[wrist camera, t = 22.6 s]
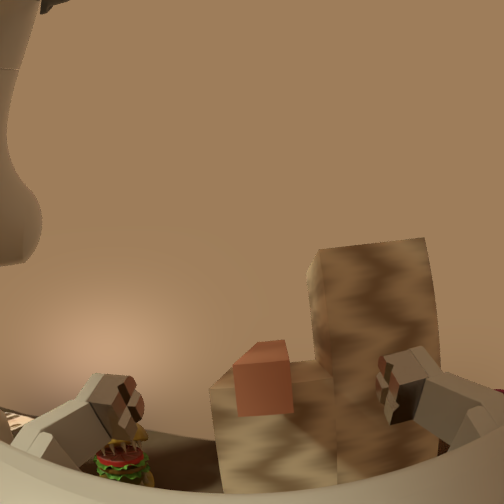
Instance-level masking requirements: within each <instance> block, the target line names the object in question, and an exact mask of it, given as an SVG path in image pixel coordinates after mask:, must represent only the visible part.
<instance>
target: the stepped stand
mask: <svg viewBox="0 0 504 504" xmlns="http://www.w3.org/2000/svg"><path fill="white" fill-rule="evenodd" d="M306 277H307V285H308V294H309V302H310V312H311V321H312V330H313V341H314V352H315V360H309V361H301V362H292V363H290V372H291V383H292V395H293V407H294V413H287V414H277V415H264V416H248V417H238V412H237V403H236V394H235V385H234V375H233V368H230V369H229V370H228V371H227V372H226V373H225V374H224V375H223V376H222V377H221V378H220V379H219V380H218V381H217V382H216V383H215V384H214V385H212V386H211V387H210V388H209V394H210V402H211V411H212V419H213V426H214V434H215V441H216V448H217V455H218V461H219V468H220V474H221V480H222V486H223V492H224V494H253V493H274V492H286V491H296V490H305V489H313V488H320V487H326V486H332V485H338V484H343V483H348V482H353V481H357V480H362V479H366V478H370V477H374V476H378V475H382V474H386V473H389V472H393V471H396V470H399V469H403V468H406V467H409V466H412V465H415V464H418V463H421V462H424V461H426V460H429V459H432V458H434V457H437V455H438V445H439V438H438V437H437V436H435V435H434V434H432V433H431V432H429V431H428V430H426V429H425V428H423V427H422V426H420V425H419V424H417V423H416V422H415V421H413V420H414V419H413V420H409V421H406V422H402V423H398V424H394V425H389V423H388V421H387V418H386V416H385V414H384V407H385V405H383V404H382V403H380V402H379V400H378V397H377V394H376V386H375V383H376V376H377V375H378V373H379V372H380V370H379V368H378V360H379V357H380V356H382V355H387V354H391V353H395V352H400V351H404V350H408V349H410V348H414V347H418V346H423V347H424V348H425V349H426V351H427V352H428V353H429V355H430V356H431V357H432V358H433V360H434V361H435V362H436V364H437V365H438V366H439V368H440V369H441V364H440V344H439V331H438V321H437V311H436V303H435V295H434V288H433V281H432V275H431V269H430V263H429V258H428V252H427V247H426V243H425V238H415V239H406V240H398V241H390V242H380V243H372V244H363V245H354V246H346V247H337V248H328V249H319V250H318V252H317V254H316V256H315V258H314V260H313V261H312V263H311V265H310V267H309V269H308V270H307V272H306Z"/></svg>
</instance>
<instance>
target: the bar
mask: <svg viewBox="0 0 504 504" xmlns="http://www.w3.org/2000/svg"><path fill="white" fill-rule="evenodd" d="M233 375H234V385H235V394H236V403H237V412H238V417H248V416H264V415H277V414H287V413H294V407H293V395H292V383H291V372H290V361H289V356H288V352H287V348H286V344H285V340H276V341H267V342H257V343H256V344H255V345H254V346H253V347H252V348H251V349H250V350H249V351H248V352H246V353H245V354H244V355H243V356H242V357H241V358H240V359H239V360H237V361H236V362H235V363H234V364H233Z"/></svg>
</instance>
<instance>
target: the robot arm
mask: <svg viewBox="0 0 504 504" xmlns="http://www.w3.org/2000/svg"><path fill="white" fill-rule="evenodd" d="M67 1H69V0H42V2H41V11H40V14H45V13H47V12H48V11H49V10H50V9H51V8H52V7H53V5H57V4H60V3H64V2H67ZM39 2H40V0H0V266H8V265H14V264H19V263H25V262H26V261H27V260H28V259H29V257H30V256H31V255H32V254H33V252H34V251H35V249H36V247H37V244H38V242H39V239H40V235H41V230H42V215H41V209H40V206H39V203H38V201H37V199H36V197H35V195H34V194H33V192H32V191H31V190H30V189H29V188H28V187H27V186H26V185H25V184H24V183H23V182H22V180H21V179H20V177H19V176H18V174H17V173H16V171H15V169H14V167H13V164H12V162H11V159H10V156H9V152H8V146H7V137H6V132H7V121H8V113H9V108H10V103H11V98H12V94H13V89H14V86H15V82H16V79H17V75H18V72H19V70H13V69H20V66H21V63H22V60H23V57H24V54H25V50H26V47H27V44H28V41H29V37H30V34H31V31H32V28H33V24H34V21H35V17H36V14H37V10H38V6H39ZM4 68H9V69H4ZM378 368H379V370H380V372H379V373H378V375H377V376H376V383H375V386H376V394H377V397H378V400H379V402H380V403H382V404H383V405H385V407H384V414H385V416H386V418H387V421H388V423H389V425H394V424H398V423H402V422H406V421H409V420H413V419H414V420H413V421H415V422H416V423H417V424H419V425H420V426H422V427H423V428H425V429H426V430H428V431H429V432H431V433H432V434H434V435H435V436H437V437H438V438H440V439H441V440H443V441H444V442H446V443H447V444H449V445H450V447H449V449H448V451H447V453H445V454H442V455H440V456H437V457H434V458H432V459H429V460H426V461H424V462H421V463H418V464H415V465H412V466H409V467H406V468H403V469H399V470H396V471H393V472H389V473H386V474H382V475H378V476H374V477H370V478H366V479H362V480H357V481H353V482H348V483H343V484H338V485H332V486H326V487H320V488H313V489H305V490H296V491H286V492H274V493H253V494H219V493H198V492H185V491H175V490H167V489H159V488H152V487H146V486H140V485H134V484H129V483H124V482H119V481H115V480H110V479H106V478H102V477H98V476H94V475H91V474H87V473H83V472H82V471H81V470H80V469H79V467H80V466H81V465H83V464H84V463H85V462H86V461H87V460H89V459H90V458H91V457H92V456H93V455H95V454H96V453H97V452H98V451H99V450H101V449H102V448H103V447H104V446H105V445H107V444H108V443H109V442H110V441H111V439H115V440H123V441H133V439H134V436H135V434H136V432H137V429H138V427H137V425H136V423H137V422H138V421H140V420H141V419H142V417H143V414H144V401H143V398H142V396H141V394H140V393H139V392H137V391H136V390H135V388H136V382H135V380H134V378H133V377H131V376H123V375H111V374H99V373H95V374H92V376H91V377H90V378H89V380H88V381H87V383H86V384H85V386H84V387H83V388H82V390H81V391H80V393H79V394H78V396H77V397H76V398H75V400H70V401H68V402H66V403H64V404H62V405H61V406H59V407H57V408H55V409H53V410H51V411H50V412H48V413H46V414H44V415H42V416H40V417H38V418H36V419H34V420H32V421H30V422H28V423H27V424H25V425H24V426H23V427H22V429H21V430H20V432H19V433H18V434H17V436H16V437H15V439H14V438H13V436H12V433H11V430H10V427H9V424H8V420H7V417H6V415H5V413H4V412H3V411H2V410H0V504H504V394H503V393H501V392H499V391H496V390H493V389H490V388H487V387H485V386H482V385H480V384H477V383H475V382H472V381H469V380H467V379H464V378H462V377H459V376H456V375H454V374H451V373H449V372H445V373H443V372H442V370H441V369H440V368H439V366H438V365H437V364H436V362H435V361H434V360H433V358H432V357H431V356H430V355H429V353H428V352H427V351H426V349H425V348H424V347H423V346H418V347H414V348H410V349H408V350H404V351H400V352H395V353H391V354H387V355H382V356H380V357H379V360H378Z"/></svg>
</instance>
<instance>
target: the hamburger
mask: <svg viewBox="0 0 504 504" xmlns="http://www.w3.org/2000/svg"><path fill="white" fill-rule="evenodd" d="M136 425H137V427H138V429H137V432H136V434H135V436H134V439H133V441H123V440H115V439H111V441H110V442H109V443H108V444H107V445H105V446H104V447H103V448H102V449H101V450H99V451H98V452H97V453H96V455H95V457H94V462H96V461H97V462H96V464H97V467H98V468H97V472H98V473H99V477H102V478H106V479H110V480H115V481H119V482H124V483H129V484H134V485H140V486H146V487H152V488H154V486H155V482H154V478H153V475H152V473H151V472H150V471H149V469H150V467H149V465H147V464H148V463H147V460H149V457H148V455H147V454H146V453H143V451H142V444H141V442H142V441H146V440H148V435H147V433H146V431H145V430H144V428H143V427H142V426H141V425H139V424H138V423H136ZM136 443H137V444H138V446H139V447H140V448H138V447H136ZM131 444H132V446H130V445H131Z"/></svg>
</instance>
